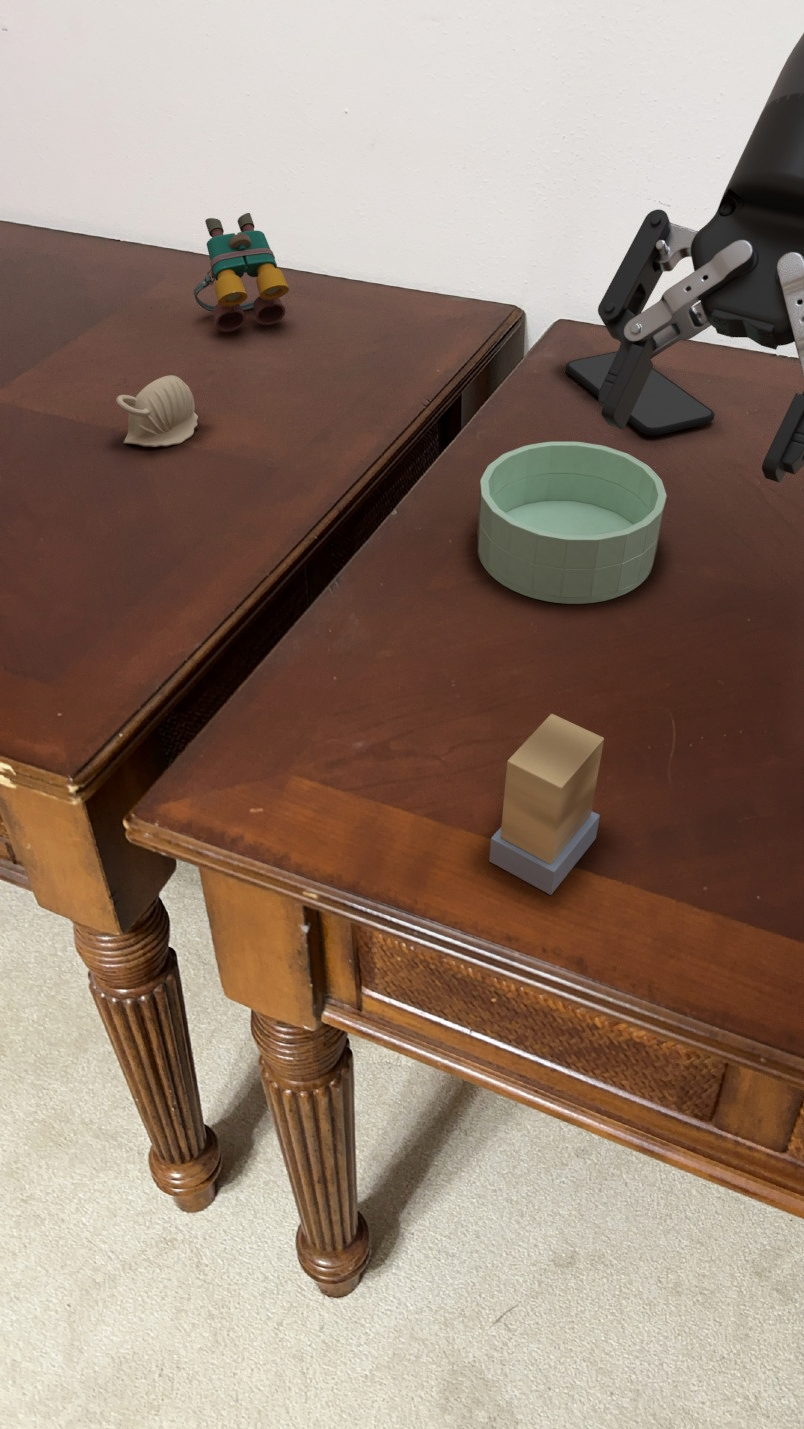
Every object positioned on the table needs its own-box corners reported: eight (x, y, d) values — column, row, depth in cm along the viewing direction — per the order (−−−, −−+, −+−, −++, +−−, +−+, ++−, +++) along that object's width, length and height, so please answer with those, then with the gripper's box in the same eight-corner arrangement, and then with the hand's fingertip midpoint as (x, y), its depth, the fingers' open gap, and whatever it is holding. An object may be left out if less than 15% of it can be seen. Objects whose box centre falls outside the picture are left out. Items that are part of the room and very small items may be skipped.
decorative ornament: (212, 427, 97) (205, 369, 93) (139, 464, 92) (128, 405, 89) (181, 412, 99) (173, 355, 95) (108, 449, 94) (96, 390, 90)
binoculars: (205, 351, 113) (208, 289, 103) (180, 275, 114) (181, 207, 105) (292, 336, 115) (303, 274, 106) (266, 262, 117) (275, 194, 107)
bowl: (666, 519, 86) (678, 457, 82) (638, 619, 77) (649, 554, 73) (502, 491, 89) (506, 429, 85) (456, 584, 80) (458, 519, 76)
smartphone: (628, 347, 106) (720, 414, 96) (627, 356, 107) (718, 424, 97) (561, 361, 104) (648, 431, 94) (560, 371, 105) (646, 441, 94)
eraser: (535, 807, 64) (547, 706, 59) (596, 838, 62) (614, 737, 57) (488, 861, 61) (496, 760, 56) (550, 895, 59) (565, 795, 54)
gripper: (685, 63, 53) (540, 378, 54) (995, 115, 46) (823, 469, 48) (711, 154, 59) (582, 432, 61) (984, 210, 53) (834, 518, 54)
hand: (688, 448), depth 54 cm, fingers open, 8 cm apart
